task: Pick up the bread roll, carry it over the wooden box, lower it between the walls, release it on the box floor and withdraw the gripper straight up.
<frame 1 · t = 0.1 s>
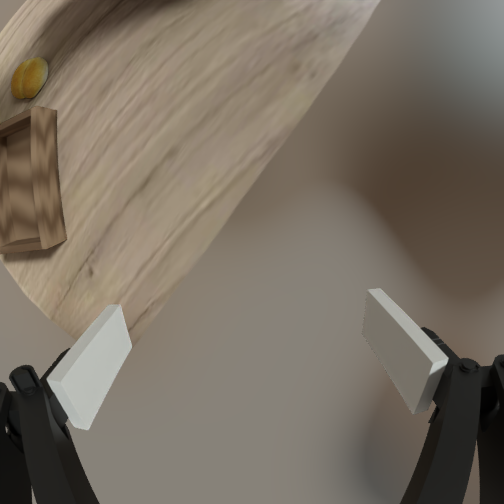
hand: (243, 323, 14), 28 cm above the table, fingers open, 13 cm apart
wooden box: (30, 181, 38), on the table
bread roll: (33, 79, 33), on the table
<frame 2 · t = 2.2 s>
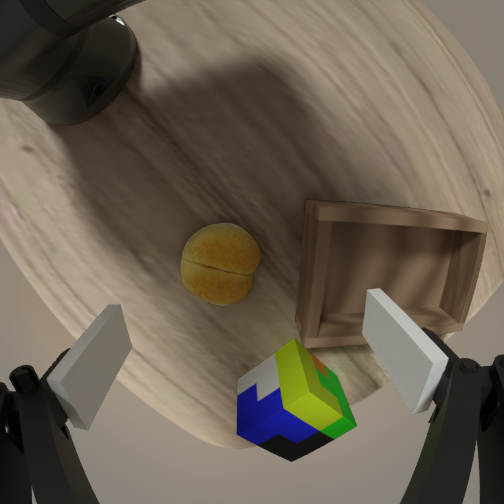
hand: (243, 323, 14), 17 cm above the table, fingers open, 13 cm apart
puzzle toy: (288, 377, 37), on the table
wooden box: (387, 264, 32), on the table
bread roll: (221, 261, 32), on the table
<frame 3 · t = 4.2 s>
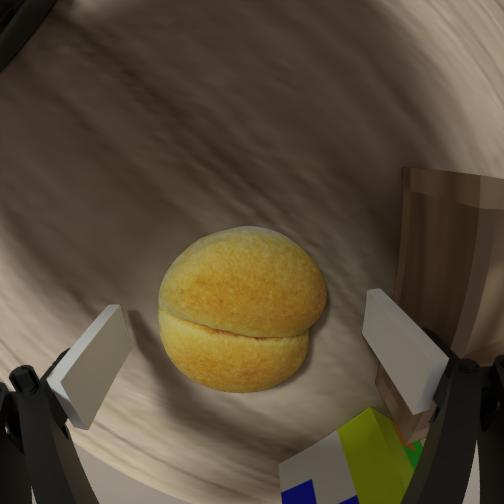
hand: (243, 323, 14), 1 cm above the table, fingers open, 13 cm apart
puzzle toy: (352, 450, 21), on the table
wooden box: (503, 274, 15), on the table
bread roll: (241, 305, 16), on the table
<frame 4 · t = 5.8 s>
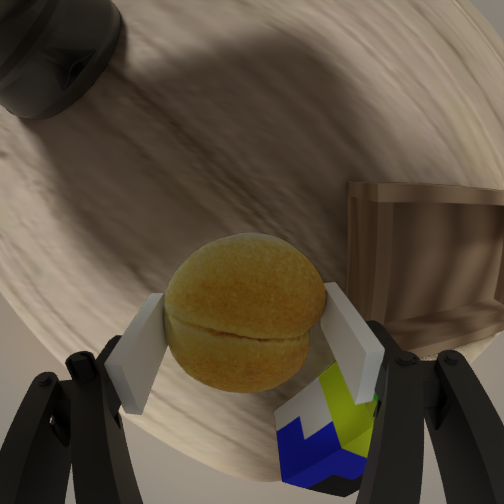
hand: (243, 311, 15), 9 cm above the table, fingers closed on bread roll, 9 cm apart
puzzle toy: (334, 402, 29), on the table
wooden box: (443, 255, 24), on the table
bread roll: (244, 308, 16), point 8 cm above the table, touching gripper
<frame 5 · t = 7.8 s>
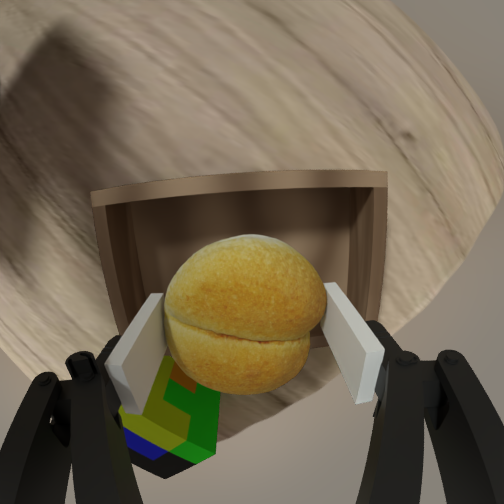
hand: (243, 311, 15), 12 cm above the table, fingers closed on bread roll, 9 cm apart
puzzle toy: (165, 386, 32), on the table
wooden box: (243, 251, 27), on the table
bread roll: (244, 310, 16), point 11 cm above the table, touching gripper
when the fingers open (2 cm above the table, at t = 9.9 s): bread roll stays where it is, resting on wooden box.
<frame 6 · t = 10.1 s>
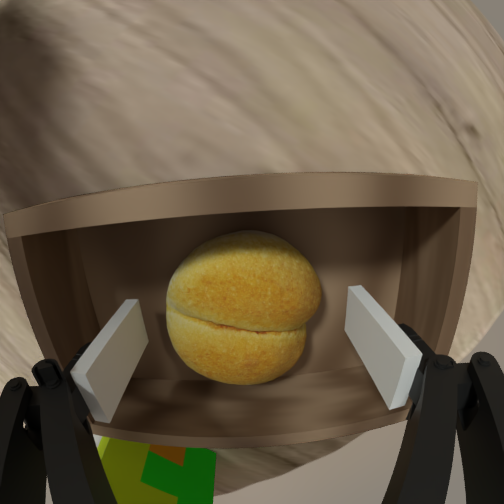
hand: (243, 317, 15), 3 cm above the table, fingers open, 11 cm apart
puzzle toy: (148, 446, 22), on the table
wooden box: (243, 296, 17), on the table
bread roll: (243, 303, 17), point 1 cm above the table, touching wooden box
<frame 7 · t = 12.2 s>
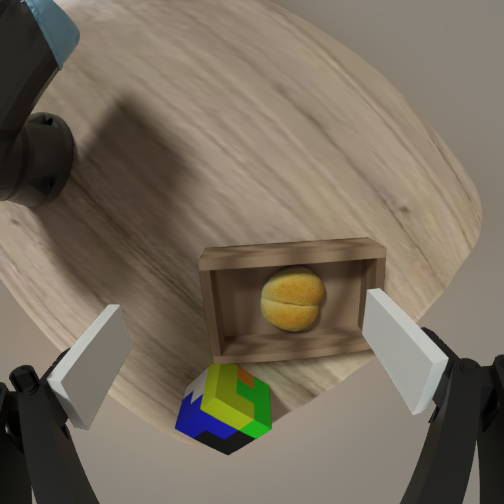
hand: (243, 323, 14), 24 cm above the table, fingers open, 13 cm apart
puzzle toy: (226, 386, 45), on the table
wooden box: (291, 292, 40), on the table
bread roll: (291, 295, 39), point 1 cm above the table, touching wooden box
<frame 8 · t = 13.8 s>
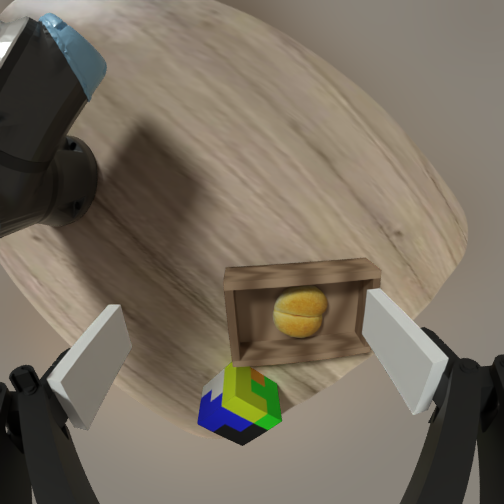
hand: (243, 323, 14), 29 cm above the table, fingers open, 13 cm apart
puzzle toy: (239, 384, 51), on the table
wooden box: (299, 304, 46), on the table
bread roll: (299, 307, 45), point 1 cm above the table, touching wooden box
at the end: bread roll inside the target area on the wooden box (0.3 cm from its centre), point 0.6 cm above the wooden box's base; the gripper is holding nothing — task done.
